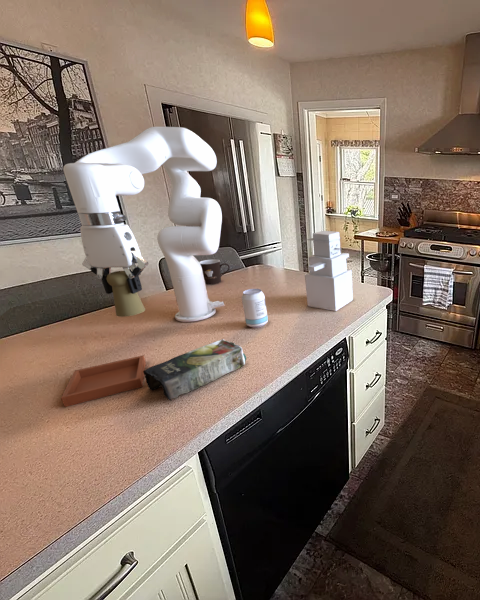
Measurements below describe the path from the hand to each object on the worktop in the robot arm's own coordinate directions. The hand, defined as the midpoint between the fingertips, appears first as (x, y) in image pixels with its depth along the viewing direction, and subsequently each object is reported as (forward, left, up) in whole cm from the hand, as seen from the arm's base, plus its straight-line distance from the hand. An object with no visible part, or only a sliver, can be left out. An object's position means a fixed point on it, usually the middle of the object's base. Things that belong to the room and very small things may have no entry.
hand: (124, 291), depth 83 cm
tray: (+6, +10, -19) cm, 23 cm away
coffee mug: (-24, -65, -20) cm, 72 cm away
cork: (0, 0, -6) cm, 6 cm away
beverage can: (-31, -6, -20) cm, 37 cm away
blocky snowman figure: (-59, -12, -20) cm, 63 cm away
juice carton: (-13, +19, -20) cm, 30 cm away
